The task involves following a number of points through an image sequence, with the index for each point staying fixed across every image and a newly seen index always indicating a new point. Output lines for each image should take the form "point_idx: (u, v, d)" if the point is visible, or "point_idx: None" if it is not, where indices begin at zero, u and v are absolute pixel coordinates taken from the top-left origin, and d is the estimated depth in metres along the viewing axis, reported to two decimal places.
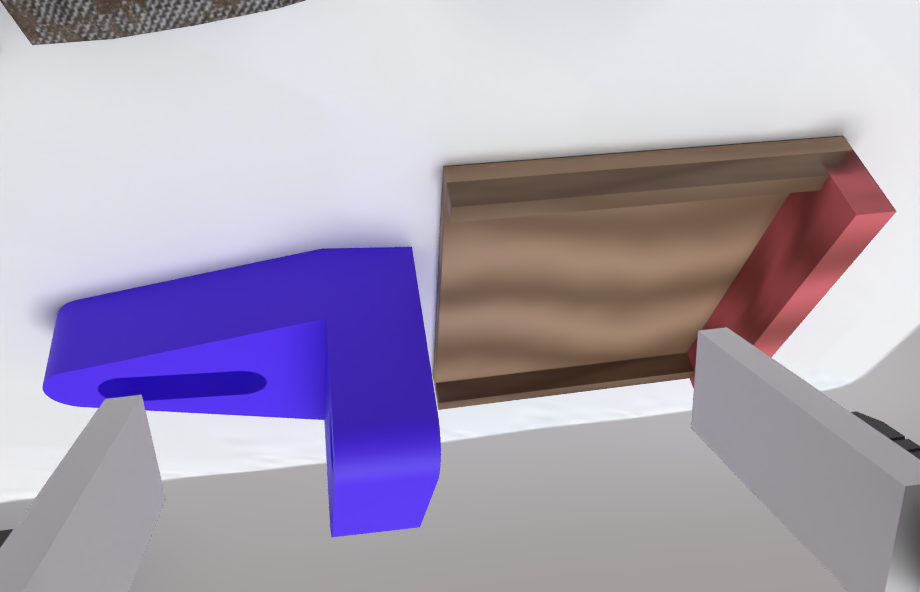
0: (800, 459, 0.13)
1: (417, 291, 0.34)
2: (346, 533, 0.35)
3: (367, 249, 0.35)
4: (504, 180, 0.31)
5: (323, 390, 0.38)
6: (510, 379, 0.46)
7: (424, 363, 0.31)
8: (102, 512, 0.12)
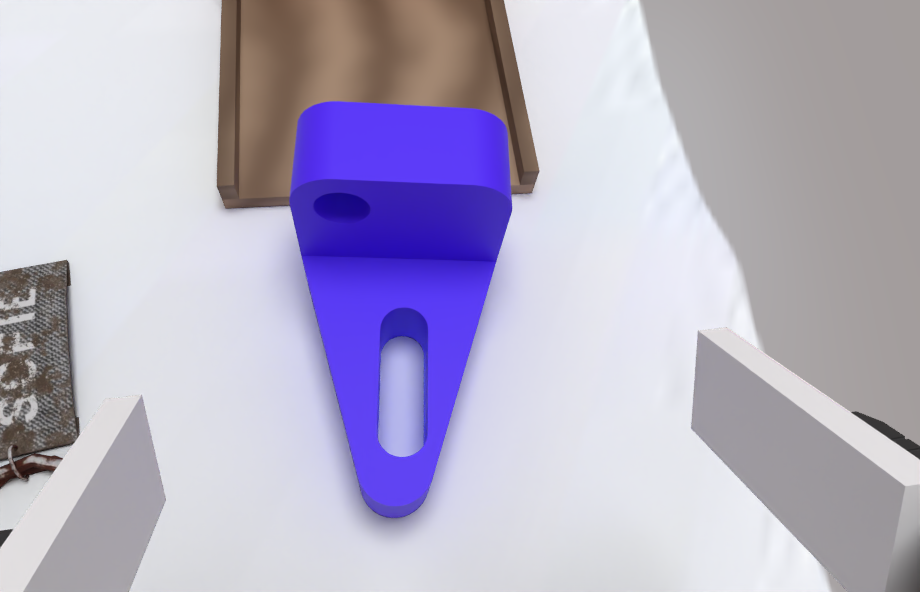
0: (800, 459, 0.13)
1: None
2: (471, 172, 0.32)
3: None
4: None
5: (430, 260, 0.38)
6: (509, 119, 0.47)
7: None
8: (102, 512, 0.12)
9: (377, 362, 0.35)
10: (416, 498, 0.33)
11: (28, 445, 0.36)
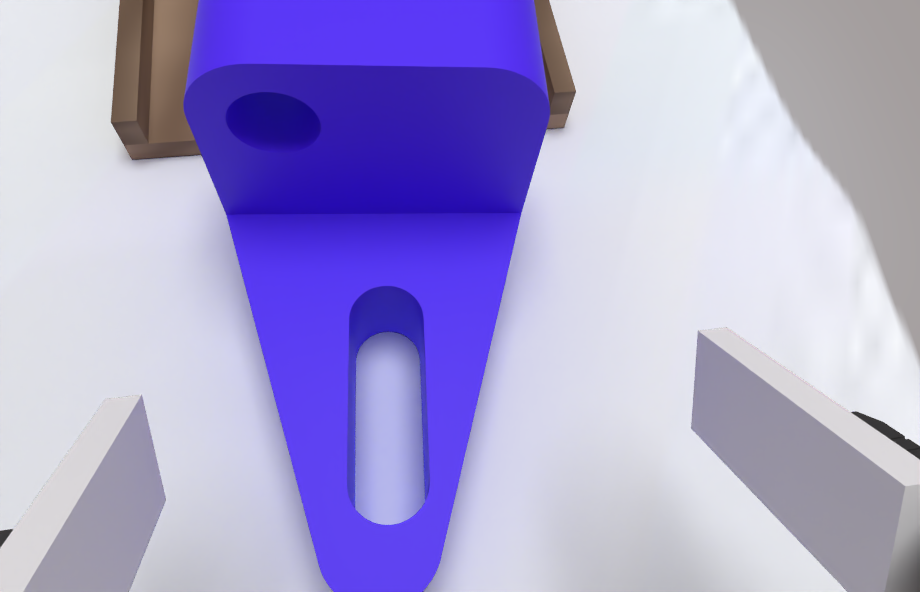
0: (800, 459, 0.13)
1: None
2: (483, 48, 0.19)
3: None
4: None
5: (422, 215, 0.25)
6: None
7: None
8: (102, 512, 0.12)
9: (345, 372, 0.23)
10: None
11: None
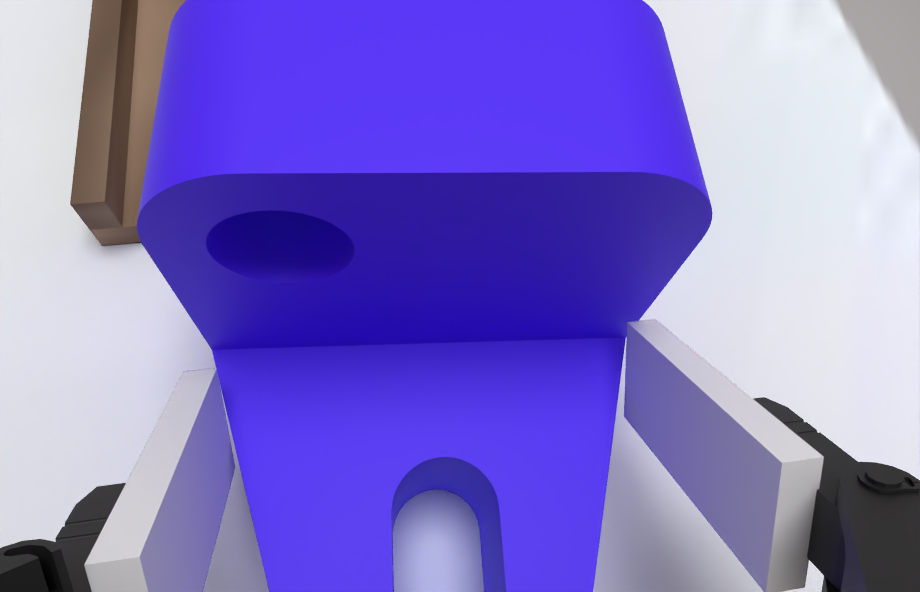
0: (706, 441, 0.14)
1: None
2: (621, 137, 0.12)
3: None
4: None
5: (489, 344, 0.18)
6: None
7: None
8: (195, 470, 0.13)
9: None
10: None
11: None
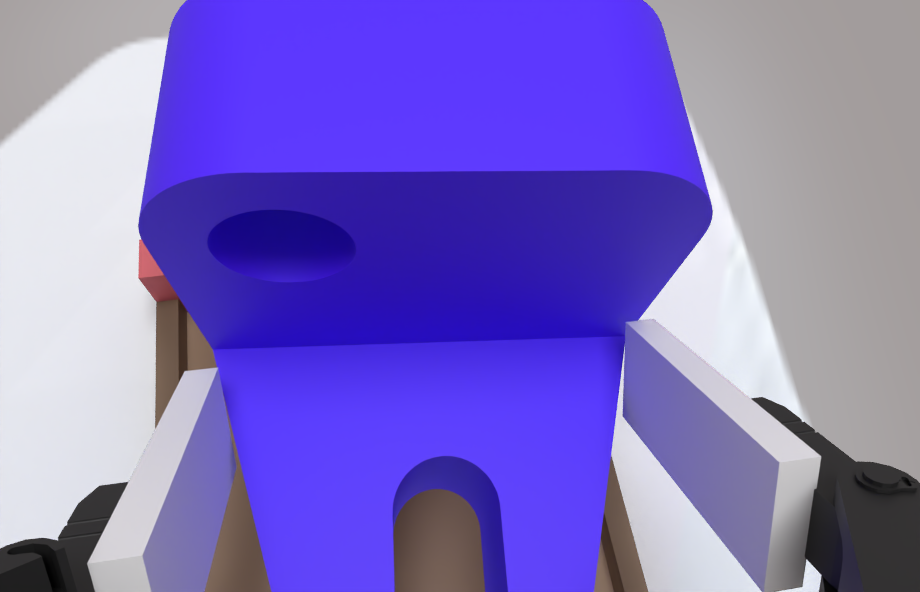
0: (703, 441, 0.14)
1: None
2: (622, 136, 0.12)
3: None
4: None
5: (489, 343, 0.18)
6: None
7: None
8: (197, 469, 0.13)
9: None
10: None
11: None
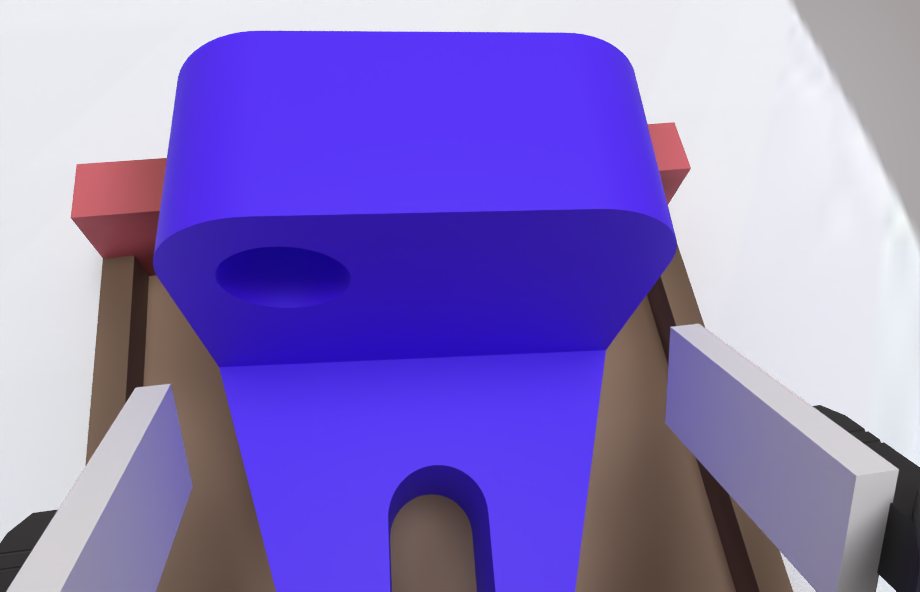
0: (763, 451, 0.13)
1: None
2: (591, 177, 0.13)
3: None
4: None
5: (478, 358, 0.19)
6: (739, 582, 0.21)
7: None
8: (138, 494, 0.13)
9: None
10: None
11: None
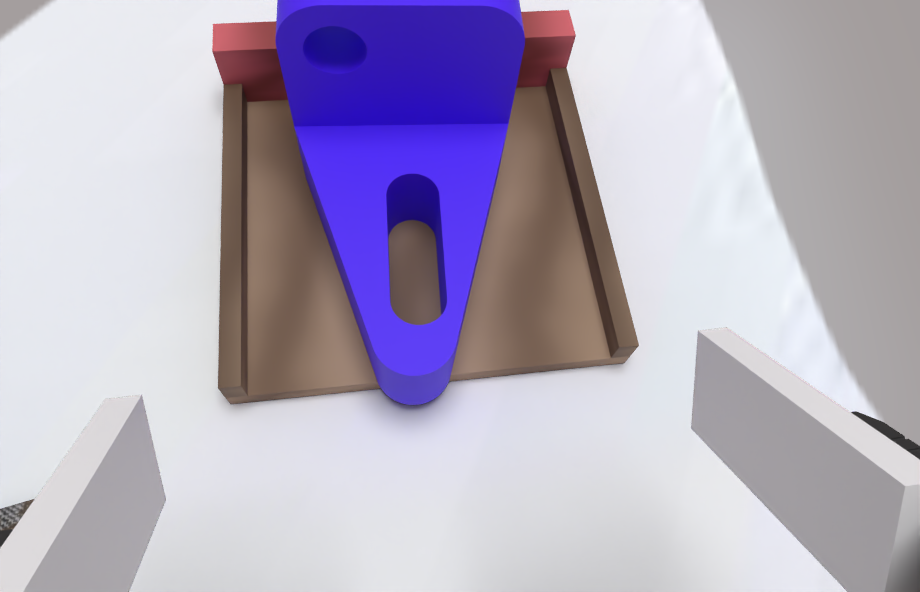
0: (800, 459, 0.13)
1: None
2: None
3: None
4: None
5: (436, 125, 0.35)
6: (591, 266, 0.36)
7: None
8: (102, 512, 0.12)
9: (385, 229, 0.32)
10: (439, 366, 0.29)
11: None
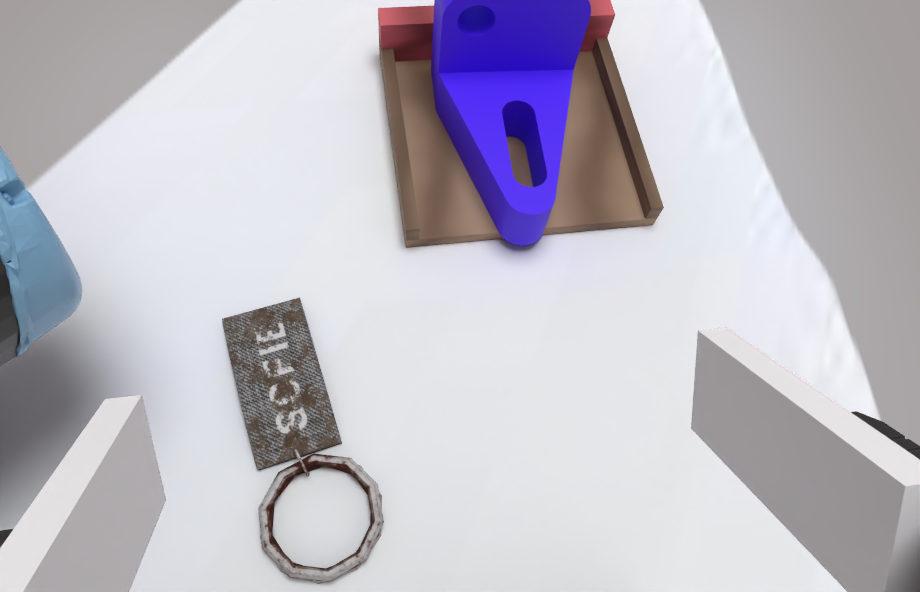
0: (800, 459, 0.13)
1: (432, 44, 0.56)
2: None
3: (433, 88, 0.58)
4: (402, 210, 0.52)
5: (528, 71, 0.54)
6: (630, 163, 0.56)
7: (434, 5, 0.53)
8: (102, 512, 0.12)
9: (504, 133, 0.51)
10: (547, 209, 0.48)
11: (304, 448, 0.44)
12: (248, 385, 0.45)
